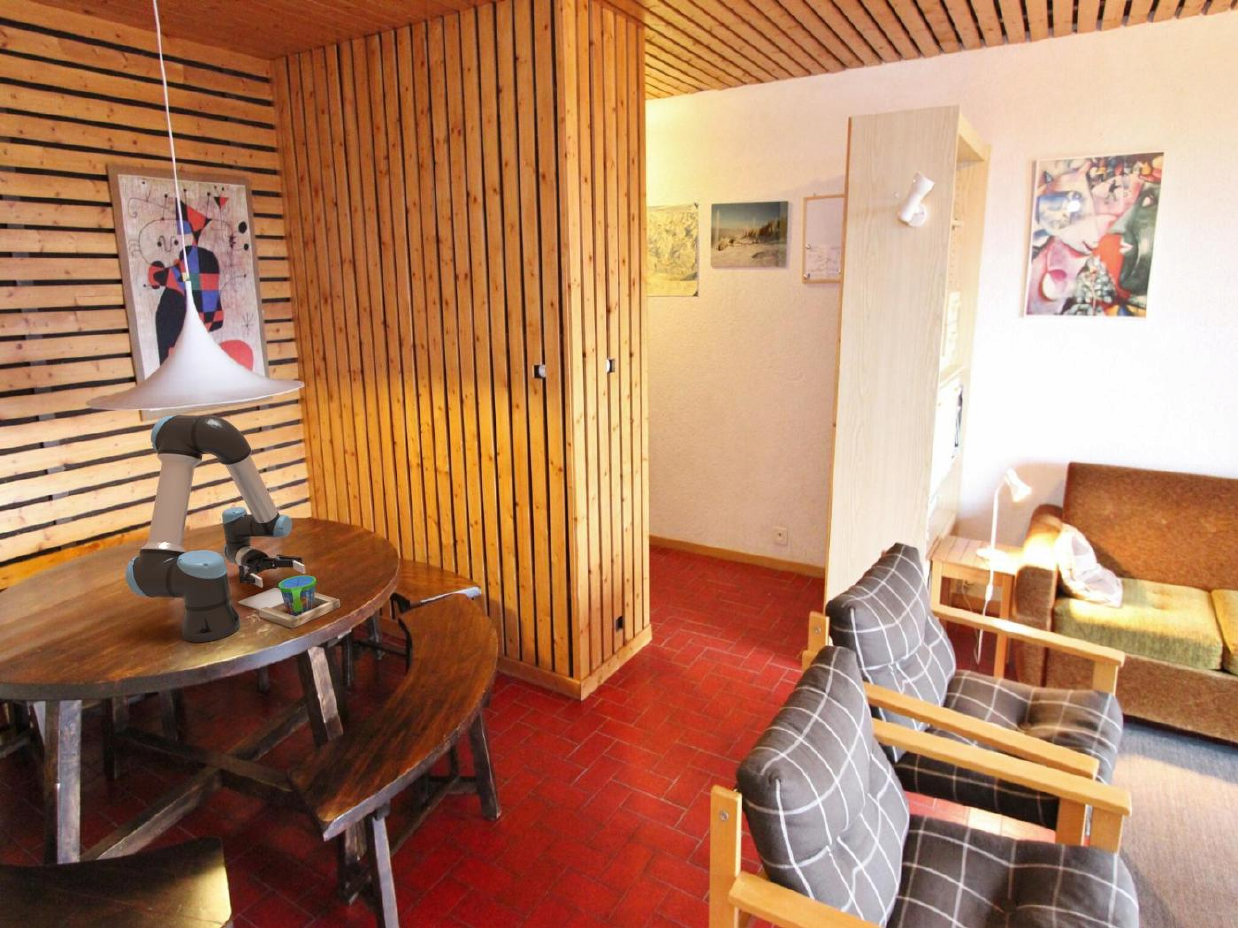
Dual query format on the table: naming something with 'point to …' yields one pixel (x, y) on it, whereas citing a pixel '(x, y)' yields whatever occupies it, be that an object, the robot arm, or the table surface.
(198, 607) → the robot arm
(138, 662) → the table surface
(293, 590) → the snack cup
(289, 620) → the wooden frame
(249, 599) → the grey mat
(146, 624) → the table surface
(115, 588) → the table surface
